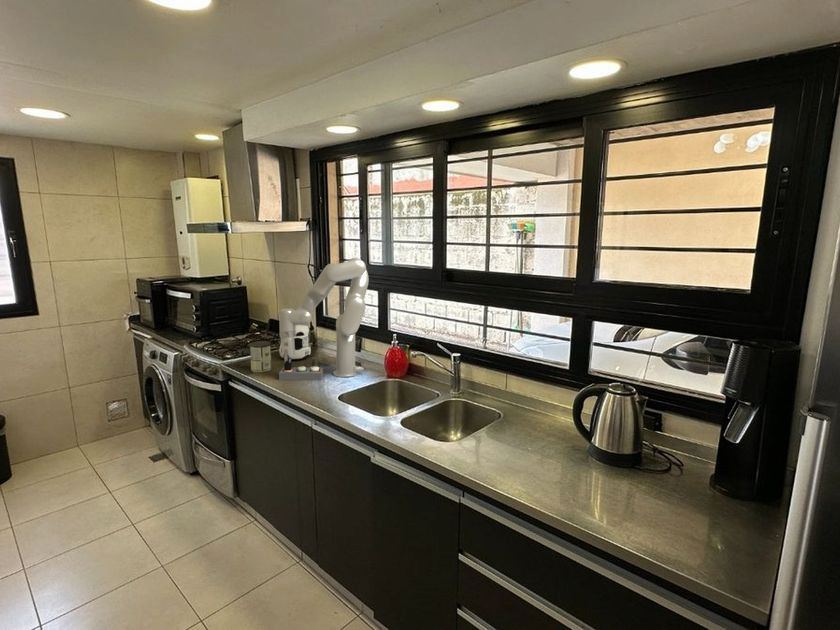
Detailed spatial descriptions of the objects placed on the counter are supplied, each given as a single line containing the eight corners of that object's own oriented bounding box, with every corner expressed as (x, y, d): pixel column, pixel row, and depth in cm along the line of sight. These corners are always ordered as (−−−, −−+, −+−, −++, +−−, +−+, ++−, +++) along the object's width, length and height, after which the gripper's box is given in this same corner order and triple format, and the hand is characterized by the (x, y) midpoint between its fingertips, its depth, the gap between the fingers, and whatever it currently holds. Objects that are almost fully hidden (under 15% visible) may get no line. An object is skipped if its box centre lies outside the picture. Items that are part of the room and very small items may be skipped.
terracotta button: (293, 372, 218) (293, 368, 217) (291, 374, 214) (291, 371, 213) (284, 372, 217) (284, 368, 217) (283, 374, 213) (283, 371, 213)
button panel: (323, 374, 222) (323, 367, 222) (321, 380, 213) (321, 373, 213) (282, 374, 220) (282, 367, 219) (279, 380, 210) (278, 373, 210)
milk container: (280, 354, 255) (279, 324, 252) (310, 353, 260) (310, 324, 257) (278, 362, 239) (278, 330, 236) (311, 361, 244) (310, 330, 241)
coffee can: (256, 365, 232) (255, 340, 229) (274, 367, 231) (274, 341, 228) (246, 371, 222) (246, 344, 219) (266, 372, 221) (265, 346, 218)
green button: (306, 370, 218) (306, 366, 218) (305, 372, 214) (305, 368, 214) (298, 370, 218) (298, 366, 217) (296, 372, 214) (296, 368, 213)
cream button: (319, 370, 219) (319, 366, 219) (318, 372, 215) (318, 368, 215) (311, 370, 219) (311, 366, 218) (310, 372, 215) (310, 368, 214)
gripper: (293, 337, 205) (293, 374, 208) (297, 330, 220) (298, 365, 223) (276, 337, 204) (277, 374, 207) (282, 330, 219) (283, 365, 222)
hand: (288, 369), depth 215 cm, fingers closed
